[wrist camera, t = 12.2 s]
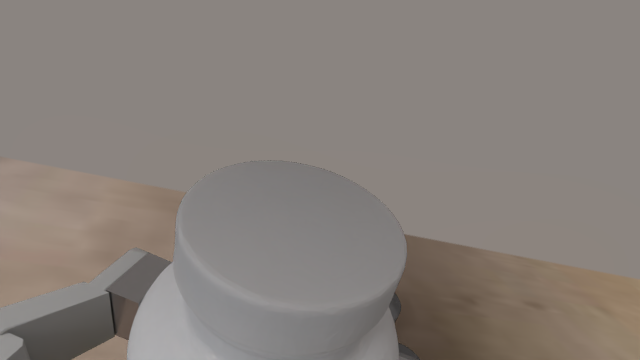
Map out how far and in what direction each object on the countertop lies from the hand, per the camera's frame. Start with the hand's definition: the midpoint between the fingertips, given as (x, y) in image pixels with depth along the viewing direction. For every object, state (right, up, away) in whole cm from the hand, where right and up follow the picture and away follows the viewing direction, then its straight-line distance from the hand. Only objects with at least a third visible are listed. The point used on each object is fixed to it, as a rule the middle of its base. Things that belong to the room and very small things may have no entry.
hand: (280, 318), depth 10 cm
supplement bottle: (-2, -8, +3) cm, 9 cm away
